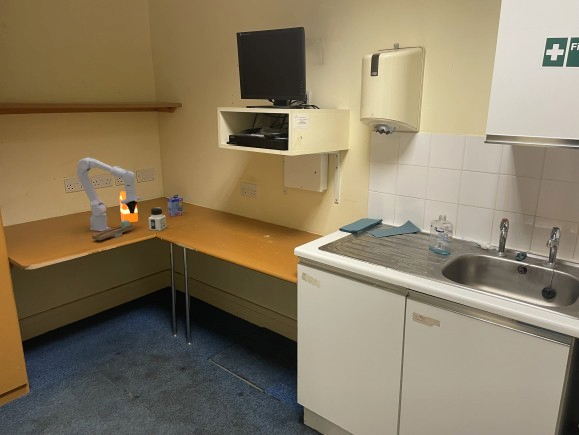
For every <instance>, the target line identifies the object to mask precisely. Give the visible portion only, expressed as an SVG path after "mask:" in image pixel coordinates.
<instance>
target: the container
mask: <svg viewBox="0 0 579 435" xmlns="http://www.w3.org/2000/svg"><path fill="white" fill-rule="evenodd" d="M150 214H151V215H150V217H148V229H149V230H150V231H162V230H164V229H166V228H167V219H166V215H163V209H162V208H161V207H152V208H151V209H150Z"/></svg>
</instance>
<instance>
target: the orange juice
mask: <svg viewBox="0 0 579 435" xmlns="http://www.w3.org/2000/svg"><path fill="white" fill-rule="evenodd" d="M124 199H126V194H125V190H124V191H122V190H121V191H120V193H119V206H120V207H119V208H120V219H121V221H123V220H129V223H132V222H133V223H134V222H138V221H139V217H138V216H139V214H138V206H137V205H138V203H137V204H136V207H135V211H134V214H130V211H129V209H128V207H127V205H126V204H121V201H122V200H124Z"/></svg>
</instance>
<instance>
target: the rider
mask: <svg viewBox="0 0 579 435" xmlns="http://www.w3.org/2000/svg"><path fill="white" fill-rule="evenodd" d="M130 225H131V224H130V222H129V220H123V221H122V220H121V221H120V226H121V228H125V227H128V226H130Z"/></svg>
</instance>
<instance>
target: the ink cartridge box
mask: <svg viewBox="0 0 579 435" xmlns="http://www.w3.org/2000/svg"><path fill="white" fill-rule="evenodd" d="M183 198H184V197H182V196H179V194H175V195H173V197H169V198H167V199H166V201H167V202H166V203H167V217H173V218H175V217H177V216H181V214H182V215H184V199H183Z"/></svg>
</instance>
